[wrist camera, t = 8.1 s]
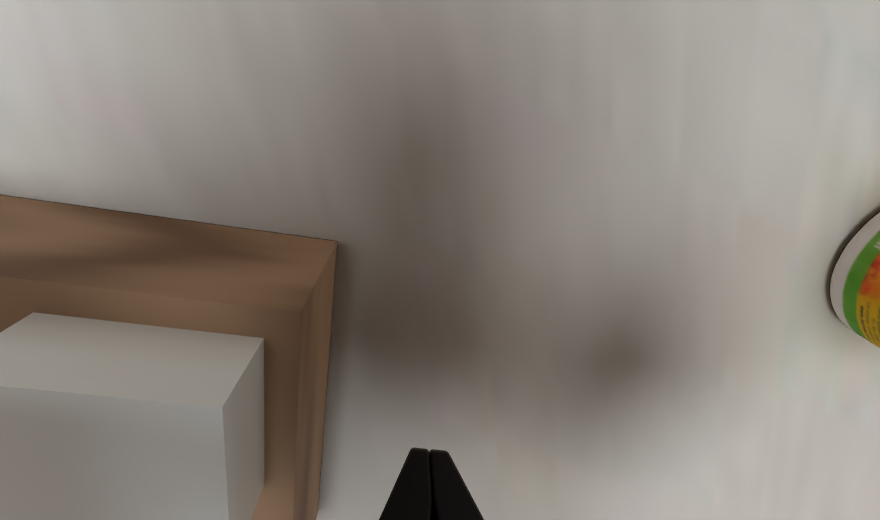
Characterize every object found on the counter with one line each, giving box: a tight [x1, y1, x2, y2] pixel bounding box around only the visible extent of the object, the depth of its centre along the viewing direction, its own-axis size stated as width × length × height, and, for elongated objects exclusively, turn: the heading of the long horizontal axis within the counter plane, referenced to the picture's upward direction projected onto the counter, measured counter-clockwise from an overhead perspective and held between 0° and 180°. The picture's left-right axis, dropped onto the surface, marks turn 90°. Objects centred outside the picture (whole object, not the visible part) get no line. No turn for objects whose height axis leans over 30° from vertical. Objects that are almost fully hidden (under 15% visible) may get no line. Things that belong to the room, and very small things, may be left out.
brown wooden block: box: [0, 195, 337, 520], centre depth 12 cm, size 10×12×4 cm
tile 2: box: [0, 312, 265, 520], centre depth 9 cm, size 4×4×2 cm
